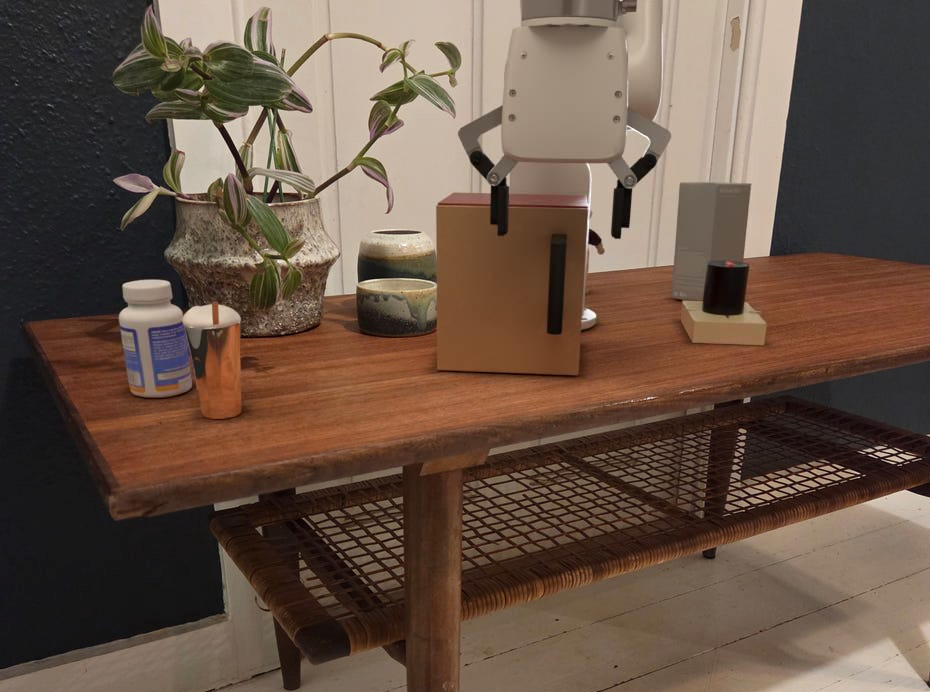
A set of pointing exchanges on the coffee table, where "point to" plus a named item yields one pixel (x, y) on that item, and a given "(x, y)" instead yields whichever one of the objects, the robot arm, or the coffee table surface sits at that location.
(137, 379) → the pill bottle
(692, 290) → the cosmetic box
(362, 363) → the coffee table surface
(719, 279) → the knob
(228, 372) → the milkshake
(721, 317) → the panel
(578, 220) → the door
